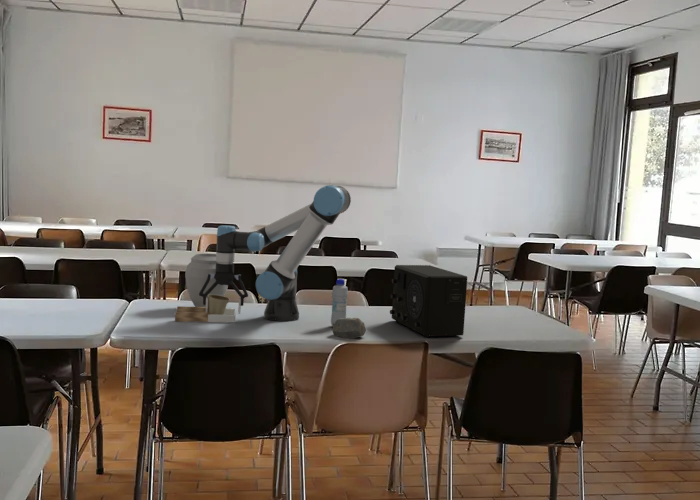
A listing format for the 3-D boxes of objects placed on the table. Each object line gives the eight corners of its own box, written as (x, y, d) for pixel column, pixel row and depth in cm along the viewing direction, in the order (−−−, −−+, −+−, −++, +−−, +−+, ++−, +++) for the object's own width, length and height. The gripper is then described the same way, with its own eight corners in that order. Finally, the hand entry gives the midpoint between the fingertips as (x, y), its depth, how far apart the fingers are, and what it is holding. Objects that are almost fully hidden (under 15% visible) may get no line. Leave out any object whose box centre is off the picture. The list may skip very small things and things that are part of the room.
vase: (184, 313, 300) (185, 257, 298) (183, 305, 319) (185, 252, 317) (230, 313, 305) (232, 258, 303) (227, 305, 324) (229, 253, 321)
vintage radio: (384, 319, 310) (387, 263, 308) (424, 319, 317) (427, 264, 314) (420, 339, 275) (424, 276, 273) (464, 338, 282) (468, 276, 279)
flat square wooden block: (210, 315, 300) (211, 307, 299) (210, 321, 286) (210, 313, 286) (177, 314, 297) (177, 306, 297) (175, 321, 283) (175, 312, 283)
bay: (234, 315, 302) (234, 308, 302) (235, 322, 287) (235, 315, 287) (208, 314, 300) (208, 307, 300) (207, 322, 285) (208, 314, 285)
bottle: (334, 328, 285) (337, 280, 283) (327, 325, 291) (329, 277, 289) (349, 328, 288) (351, 280, 287) (341, 324, 294) (344, 277, 292)
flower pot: (217, 320, 287) (221, 300, 287) (199, 315, 291) (202, 294, 291) (230, 319, 296) (234, 299, 295) (212, 313, 300) (216, 294, 299)
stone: (330, 336, 271) (331, 316, 271) (338, 332, 279) (339, 313, 278) (360, 340, 267) (361, 320, 267) (367, 336, 275) (368, 317, 274)
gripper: (254, 262, 298) (252, 312, 300) (194, 260, 293) (192, 310, 295) (255, 264, 290) (253, 315, 292) (194, 262, 286) (192, 314, 288)
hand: (222, 313), depth 294 cm, fingers open, 13 cm apart
